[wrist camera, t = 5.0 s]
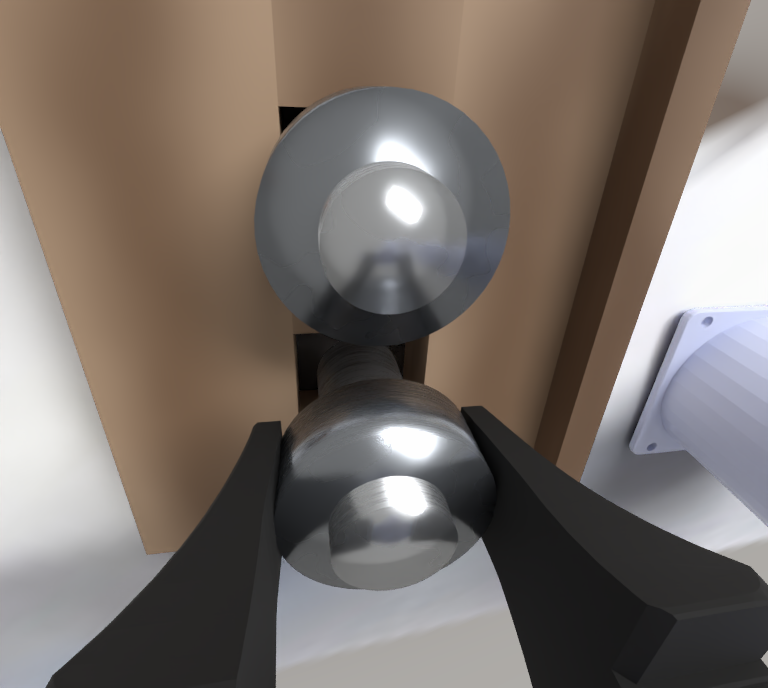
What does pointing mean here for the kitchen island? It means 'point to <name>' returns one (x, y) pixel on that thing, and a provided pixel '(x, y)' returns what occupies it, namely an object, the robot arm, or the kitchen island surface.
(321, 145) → the seated shaft
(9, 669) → the kitchen island surface
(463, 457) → the stepped metal shaft
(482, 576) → the kitchen island surface
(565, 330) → the block
